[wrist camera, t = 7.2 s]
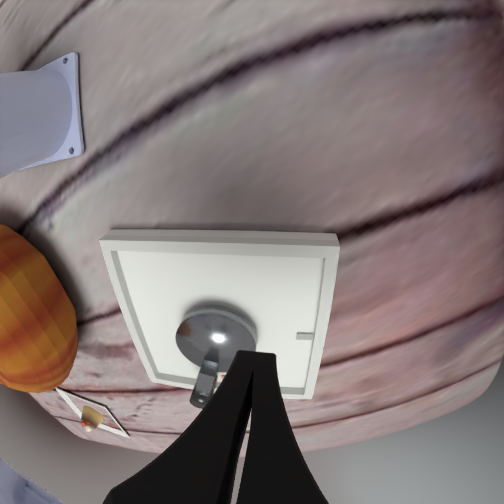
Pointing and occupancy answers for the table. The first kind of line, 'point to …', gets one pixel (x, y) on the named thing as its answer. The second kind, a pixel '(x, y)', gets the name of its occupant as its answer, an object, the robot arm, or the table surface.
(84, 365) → the table surface
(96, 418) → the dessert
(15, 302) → the pumpkin
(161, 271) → the board
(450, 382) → the table surface
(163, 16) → the table surface
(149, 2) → the table surface
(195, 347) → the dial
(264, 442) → the robot arm
